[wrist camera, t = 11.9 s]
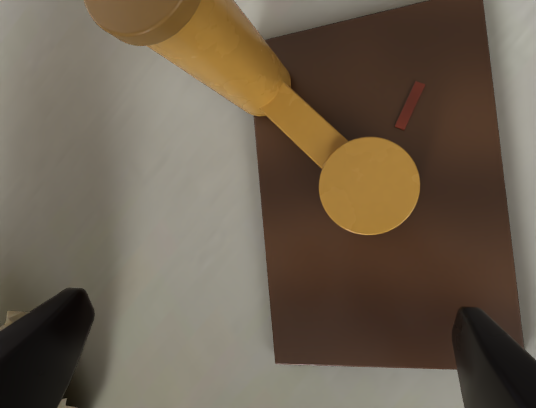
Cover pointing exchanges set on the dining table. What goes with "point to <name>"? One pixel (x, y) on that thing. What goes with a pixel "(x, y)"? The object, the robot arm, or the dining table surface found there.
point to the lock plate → (428, 205)
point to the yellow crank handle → (271, 102)
